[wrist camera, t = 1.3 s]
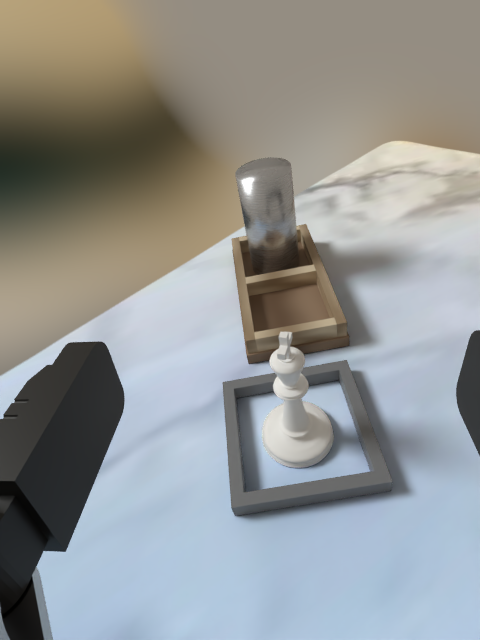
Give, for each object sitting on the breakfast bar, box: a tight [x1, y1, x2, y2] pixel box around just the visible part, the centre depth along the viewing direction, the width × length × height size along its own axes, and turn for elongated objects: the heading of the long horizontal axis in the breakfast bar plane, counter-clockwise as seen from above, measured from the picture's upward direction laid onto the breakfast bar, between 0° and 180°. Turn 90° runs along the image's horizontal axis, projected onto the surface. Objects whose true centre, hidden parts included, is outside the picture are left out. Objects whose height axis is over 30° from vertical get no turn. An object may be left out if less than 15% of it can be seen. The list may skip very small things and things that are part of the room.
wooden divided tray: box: [232, 224, 349, 364], centre depth 39 cm, size 8×16×2 cm, turn 5°
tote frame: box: [223, 360, 393, 516], centre depth 28 cm, size 10×10×1 cm
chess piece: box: [262, 331, 334, 468], centre depth 25 cm, size 5×5×10 cm
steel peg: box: [236, 158, 299, 275], centre depth 38 cm, size 5×5×10 cm
